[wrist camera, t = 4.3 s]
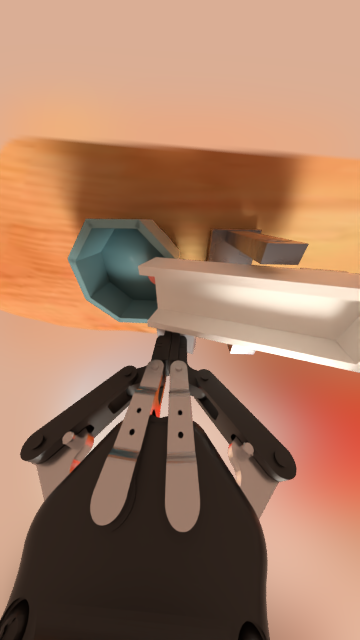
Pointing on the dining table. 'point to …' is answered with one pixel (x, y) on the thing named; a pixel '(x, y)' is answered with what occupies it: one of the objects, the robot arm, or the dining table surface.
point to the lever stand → (252, 254)
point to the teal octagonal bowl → (119, 265)
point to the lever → (260, 308)
